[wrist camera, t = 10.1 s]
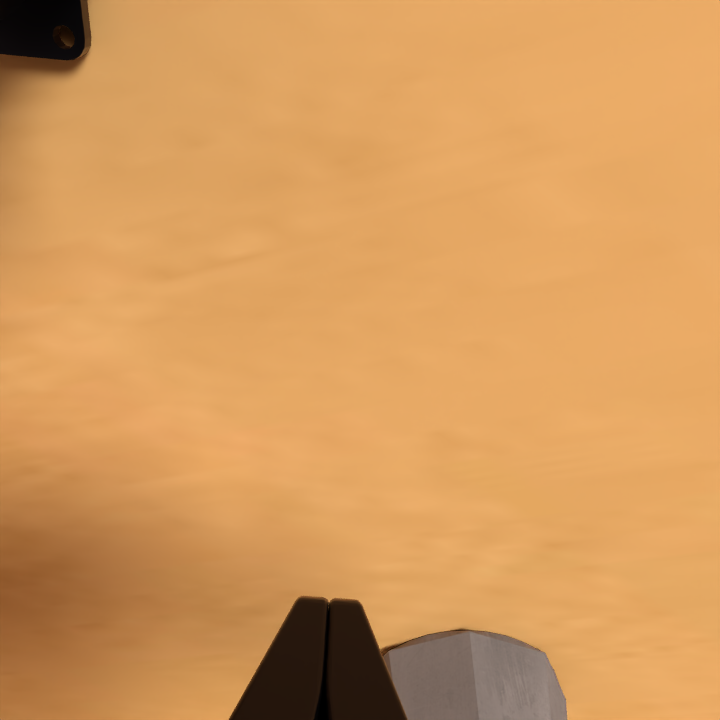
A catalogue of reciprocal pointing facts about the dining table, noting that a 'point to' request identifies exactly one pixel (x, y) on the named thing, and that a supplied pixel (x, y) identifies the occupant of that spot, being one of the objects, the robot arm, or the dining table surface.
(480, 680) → the coffeepot
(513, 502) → the dining table surface
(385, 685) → the robot arm
